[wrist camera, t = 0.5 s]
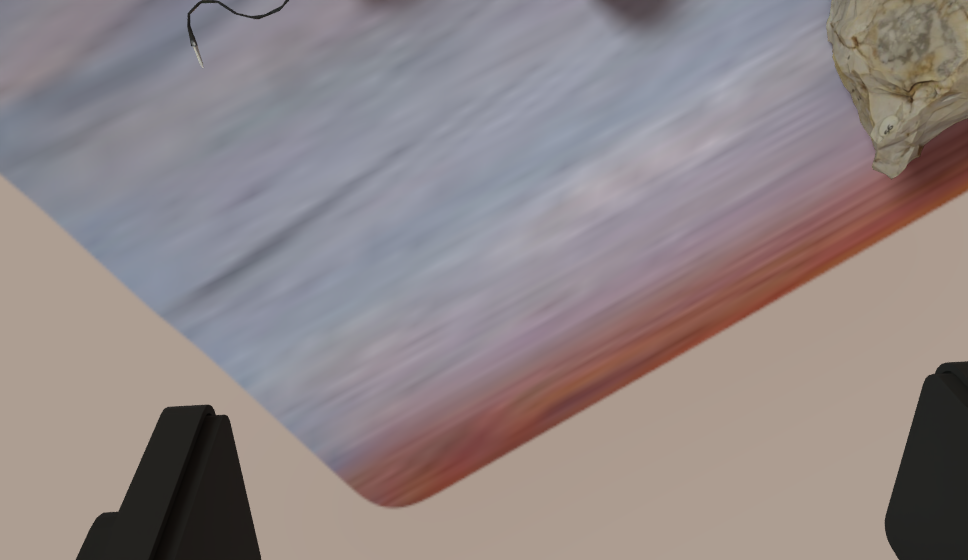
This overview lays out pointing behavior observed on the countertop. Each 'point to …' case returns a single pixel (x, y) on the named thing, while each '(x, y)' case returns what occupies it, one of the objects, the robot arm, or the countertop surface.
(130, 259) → the countertop surface
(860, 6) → the rock
